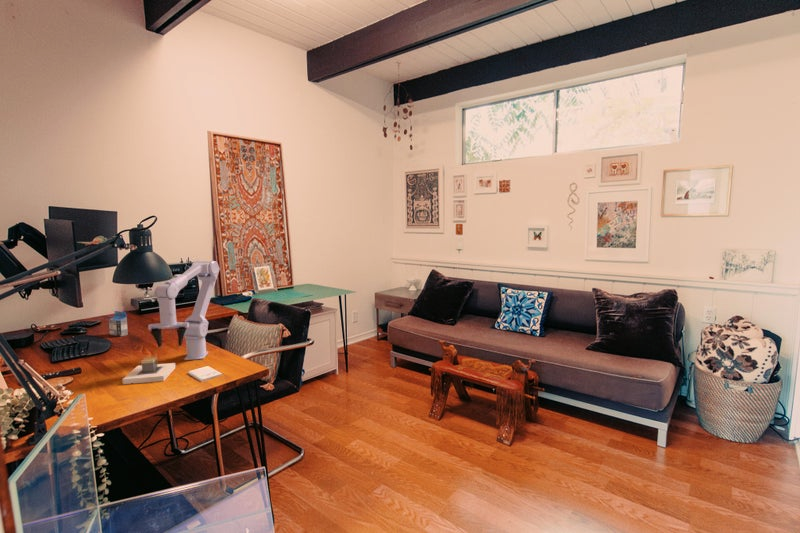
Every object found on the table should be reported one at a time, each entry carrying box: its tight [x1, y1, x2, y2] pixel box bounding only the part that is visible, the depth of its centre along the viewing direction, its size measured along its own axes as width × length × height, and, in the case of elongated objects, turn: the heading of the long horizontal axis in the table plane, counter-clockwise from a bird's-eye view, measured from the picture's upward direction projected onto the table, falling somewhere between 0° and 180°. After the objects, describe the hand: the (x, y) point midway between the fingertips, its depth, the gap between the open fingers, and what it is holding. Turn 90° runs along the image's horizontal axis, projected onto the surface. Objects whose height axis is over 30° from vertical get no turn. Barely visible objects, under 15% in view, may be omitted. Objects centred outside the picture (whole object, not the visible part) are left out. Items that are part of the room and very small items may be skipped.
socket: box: [122, 362, 177, 385], centre depth 160 cm, size 14×14×2 cm
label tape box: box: [108, 310, 129, 337], centre depth 214 cm, size 9×4×12 cm, turn 71°
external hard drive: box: [187, 365, 223, 383], centre depth 162 cm, size 2×8×12 cm
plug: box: [140, 356, 158, 373], centre depth 160 cm, size 4×4×7 cm
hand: (170, 345), depth 166 cm, fingers open, 7 cm apart
